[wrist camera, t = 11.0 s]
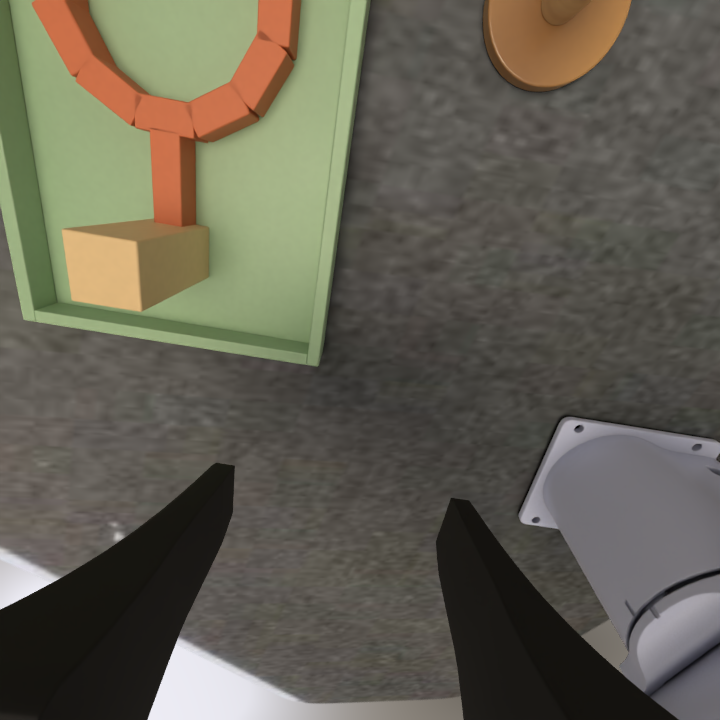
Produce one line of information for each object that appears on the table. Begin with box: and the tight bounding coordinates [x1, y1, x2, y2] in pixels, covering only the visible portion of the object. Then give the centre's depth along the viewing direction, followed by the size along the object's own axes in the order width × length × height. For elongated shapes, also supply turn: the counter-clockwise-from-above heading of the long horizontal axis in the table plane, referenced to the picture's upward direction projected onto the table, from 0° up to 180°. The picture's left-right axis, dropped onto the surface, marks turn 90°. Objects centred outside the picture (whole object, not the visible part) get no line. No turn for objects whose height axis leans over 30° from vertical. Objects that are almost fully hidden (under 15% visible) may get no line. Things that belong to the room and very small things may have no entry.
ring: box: [32, 0, 301, 312], centre depth 13 cm, size 9×15×6 cm, turn 171°
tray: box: [0, 0, 371, 366], centre depth 15 cm, size 14×21×2 cm
